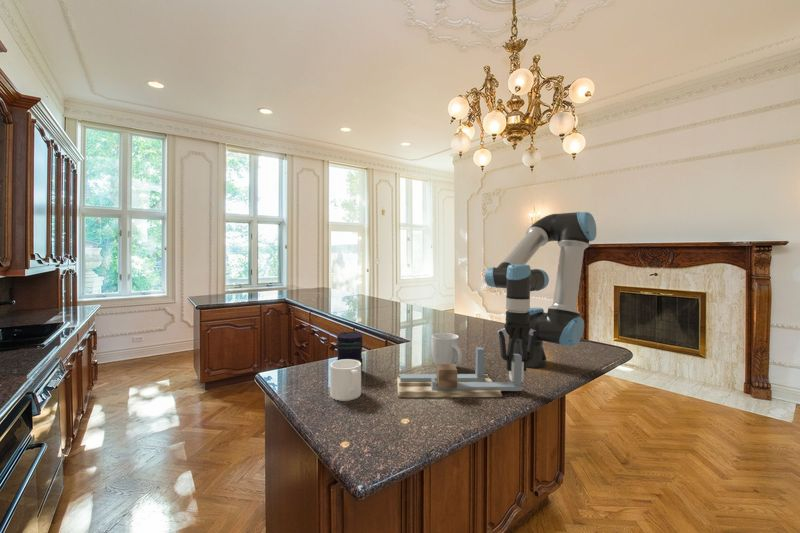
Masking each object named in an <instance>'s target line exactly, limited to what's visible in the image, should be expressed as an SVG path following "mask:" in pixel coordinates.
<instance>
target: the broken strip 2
mask: <svg viewBox="0 0 800 533" xmlns="http://www.w3.org/2000/svg"><path fill="white" fill-rule="evenodd" d="M474 364H475V368H474V372H475V373H457V382H485V377H484V374H485V348H483V347H481V346H480V347H479V346H476V347H475V363H474Z"/></svg>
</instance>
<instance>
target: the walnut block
mask: <svg viewBox="0 0 800 533" xmlns="http://www.w3.org/2000/svg"><path fill="white" fill-rule="evenodd" d="M436 374H437V376H436V381H437V384H438V387H439V388H457V374H458V369H457V367H455V365H454V364H437V367H436Z"/></svg>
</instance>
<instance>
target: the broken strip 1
mask: <svg viewBox="0 0 800 533" xmlns="http://www.w3.org/2000/svg"><path fill="white" fill-rule="evenodd" d="M436 376H437V373H400V382H431V378H434V379H435V382H437V381H436Z"/></svg>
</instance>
